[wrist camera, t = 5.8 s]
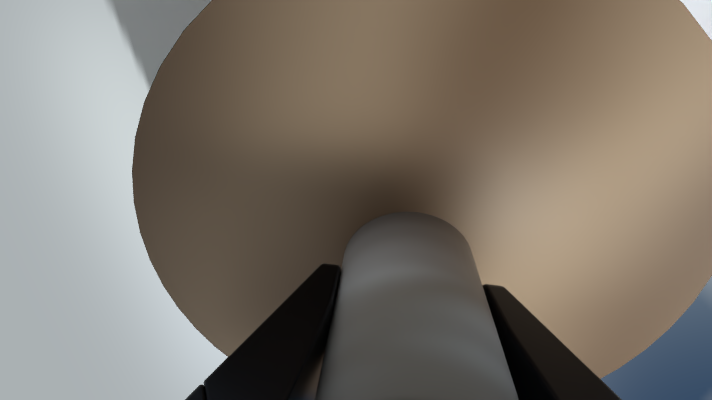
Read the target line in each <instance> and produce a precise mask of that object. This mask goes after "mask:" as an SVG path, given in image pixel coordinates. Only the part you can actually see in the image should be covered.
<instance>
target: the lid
mask: <svg viewBox="0 0 712 400" xmlns="http://www.w3.org/2000/svg"><path fill="white" fill-rule="evenodd" d="M132 178H133V194H134V205H135V210H136V214H137V219H138V224H139V229H140V233H141V236H142V239H143V241H144V244H145V247H146V250H147V253H148V256H149V258H150V261H151V263H152V265H153V267H154V269H155V270H156V272H157V274H158V276H159V278H160V280H161V282H162V284H163V286H164V287H165V289H166V290H167V292H168V293H169V295H170V296H171V298H172V299H173V301H174V302H175V304H176V305H177V307H178V308H179V309H180V310H181V312H182V313H183V314H184V315H185V316H186V317H187V319H188V320H189V321H190V322H191V323H192V324H193V326H194V327H195V328H196V329H197V330H198V331H199V332H200V333H201V334H202V335H203V336H204V337H206V339H208V340H209V341H210V342H211V343H212V344H213V345H214V346H215V347H216V348H218V349H219V350H220V351H221V352H223V353H224V354H225V355H226V356H228V357H229V356H230V355H231V354H232V353H233V352H234V351H235V350H236V349H237V348H238V347H239V346H240V345H241V344H242V343H243V342H244V341H245V340H246V339H247V338H248V337H249V336H250V335H251V334H252V333H253V332H254V331H255V330H256V329H257V328H258V327H259V326H260V325H261V324H262V323H263V322H264V321H265V320H266V319H267V318H268V317H269V316H270V315H271V314H272V313H273V312H274V311H275V310H276V309H277V308H278V307H279V306H280V305H281V304H282V303H283V302H284V301H285V300H286V299H287V298H288V297H289V296H290V295H291V294H292V293H293V292H294V291H295V290H296V289H297V288H298V287H299V286H300V285H301V284H302V283H303V282H304V281H305V280H306V279H307V278H308V277H309V276H310V275H311V274H312V273H313V272H314V271H315V270H316V269H317V268H318V267H319V266H320V265H321V264H323V263H327V264H335V265H339V266H340V267H341V274H340V279H339V284H338V289H337V294H336V299H335V304H334V309H333V314H332V318H331V323H330V327H329V332H328V337H327V342H326V347H325V352H324V357H323V362H322V367H321V372H320V377H319V381H318V386H317V391H316V396H315V400H519V399H518V395H517V392H516V389H515V386H514V383H513V380H512V377H511V374H510V370H509V367H508V364H507V361H506V358H505V355H504V352H503V348H502V345H501V342H500V339H499V336H498V333H497V330H496V327H495V323H494V320H493V317H492V314H491V311H490V308H489V305H488V302H487V298H486V295H485V292H484V289H483V285H484V284H492V285H499V286H503V287H505V288H506V289H507V290H508V291H509V292H510V293H511V294H512V295H513V296H514V297H515V298H516V299H517V300H518V301H520V302H521V303H522V304H523V305H524V306H525V307H526V308H527V309H528V310H529V311H530V312H531V313H532V314H533V315H534V316H535V317H536V318H537V319H538V320H539V321H540V322H541V323H542V324H543V325H545V326H546V327H547V328H548V329H549V330H550V331H551V332H552V333H553V334H554V335H555V336H556V337H557V338H558V339H559V340H560V341H561V342H562V343H563V344H564V345H565V346H566V347H567V348H568V349H570V350H571V351H572V352H573V353H574V354H575V355H576V356H577V357H578V358H579V359H580V360H581V361H582V362H583V363H584V364H585V365H586V366H587V367H588V368H589V369H590V370H591V371H592V372H593V373H594V374H596V375H597V376H598V377H599V378H600V379H601V378H602V377H604V376H606V375H608V374H609V373H611V372H613V371H615V370H616V369H618V368H620V367H621V366H623V365H624V364H626V363H627V362H628V361H630V360H631V359H633V358H634V357H636V356H637V355H638V354H640V353H641V352H643V351H644V350H645V349H647V348H648V347H649V346H650V345H651V344H652V343H653V342H654V341H656V340H657V339H658V338H659V337H660V336H661V335H662V334H664V333H665V332H666V331H667V330H668V329H669V328H671V326H672V325H673V324H674V323H675V322H676V321H677V320H678V319H679V318H680V317H681V315H682V314H683V313H684V312H685V311H686V310H687V309H688V308H689V307H690V305H691V304H692V303H693V302H694V301H695V299H696V297H697V296H698V295H699V293H700V292H701V291H702V289H703V288H704V286H705V285H706V283H707V282H708V280H709V279H710V277H711V276H712V40H711V39H710V38H709V37H708V35H707V34H706V33H705V31H704V30H703V29H702V27H701V26H700V25H699V24H698V22H697V21H696V20H695V18H694V17H693V16H692V14H691V13H690V12H689V10H688V9H687V8H686V7H685V5H684V4H683V3H682V2H681V1H680V0H212V1H211V2H210V3H209V4H208V5H207V6H206V7H205V8H204V9H203V10H202V12H201V13H200V14H199V15H198V16H197V17H196V18H195V19H194V20H193V21H192V22H191V23H190V24H189V25H188V26H187V28H186V29H185V30H184V31H183V33H182V34H181V36H180V37H179V39H178V40H177V42H176V43H175V45H174V46H173V48H172V49H171V51H170V52H169V54H168V55H167V57H166V58H165V60H164V61H163V63H162V64H161V66H160V68H159V70H158V72H157V75H156V77H155V79H154V81H153V84H152V86H151V88H150V90H149V93H148V95H147V97H146V99H145V102H144V105H143V109H142V113H141V117H140V121H139V125H138V128H137V132H136V136H135V146H134V157H133V167H132Z"/></svg>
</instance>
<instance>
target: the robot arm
mask: <svg viewBox="0 0 712 400" xmlns="http://www.w3.org/2000/svg"><path fill="white" fill-rule="evenodd" d="M340 274H341V267H340V266H339V265H335V264H327V263H323V264H321V265H320V266H319V267H318V268H317V269H316V270H315V271H314V272H313V273H312V274H311V275H310V276H309V277H308V278H307V279H306V280H305V281H304V282H303V283H302V284H301V285H300V286H299V287H298V288H297V289H296V290H295V291H294V292H293V293H292V294H291V295H290V296H289V297H288V298H287V299H286V300H285V301H284V302H283V303H282V304H281V305H280V306H279V307H278V308H277V309H276V310H275V311H274V312H273V313H272V314H271V315H270V316H269V317H268V318H267V319H266V320H265V321H264V322H263V323H262V324H261V325H260V326H259V327H258V328H257V329H256V330H255V331H254V332H253V333H252V334H251V335H250V336H249V337H248V338H247V339H246V340H245V341H244V342H243V343H242V344H241V345H240V346H239V347H238V348H237V349H236V350H235V351H234V352H233V353H232V354H231V355H230V356H229V357H228V358H227V359H226V360H225V361H224V362H223V363H222V364H221V365H220V366H219V367H218V368H217V369H216V370H215V371H214V372H213V373H212V374H211V375H210V376H209V377H208V378H207V379H206V380H205V381H204V385H199V386H198V387H197V388H196V389H195V390H194V391H193V392H192V393H191V394H190V395H189V396H188V397H187V399H185V400H315V396H316V391H317V386H318V381H319V377H320V372H321V367H322V362H323V357H324V352H325V347H326V342H327V337H328V332H329V327H330V323H331V318H332V314H333V309H334V304H335V299H336V294H337V289H338V284H339V279H340ZM483 289H484V292H485V295H486V298H487V302H488V305H489V308H490V311H491V314H492V317H493V320H494V323H495V327H496V330H497V333H498V336H499V339H500V342H501V345H502V348H503V352H504V355H505V358H506V361H507V364H508V367H509V370H510V374H511V377H512V380H513V383H514V386H515V389H516V392H517V395H518V399H519V400H622V399H620V398H619V397H618V396H617V395H616V394H615V393H614V392H613V391H612V390H611V389H610V388H609V387H608V386H607V385H606V384H605V383H604V382H603V381H602V380H601V379H600V378H599V377H598V376H597V375H596V374H594V373H593V372H592V371H591V370H590V369H589V368H588V367H587V366H586V365H585V364H584V363H583V362H582V361H581V360H580V359H579V358H578V357H577V356H576V355H575V354H574V353H573V352H572V351H571V350H570V349H568V348H567V347H566V346H565V345H564V344H563V343H562V342H561V341H560V340H559V339H558V338H557V337H556V336H555V335H554V334H553V333H552V332H551V331H550V330H549V329H548V328H547V327H546V326H545V325H543V324H542V323H541V322H540V321H539V320H538V319H537V318H536V317H535V316H534V315H533V314H532V313H531V312H530V311H529V310H528V309H527V308H526V307H525V306H524V305H523V304H522V303H521V302H520V301H518V300H517V299H516V298H515V297H514V296H513V295H512V294H511V293H510V292H509V291H508V290H507V289H506V288H505V287H503V286H499V285H492V284H484V285H483Z"/></svg>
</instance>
